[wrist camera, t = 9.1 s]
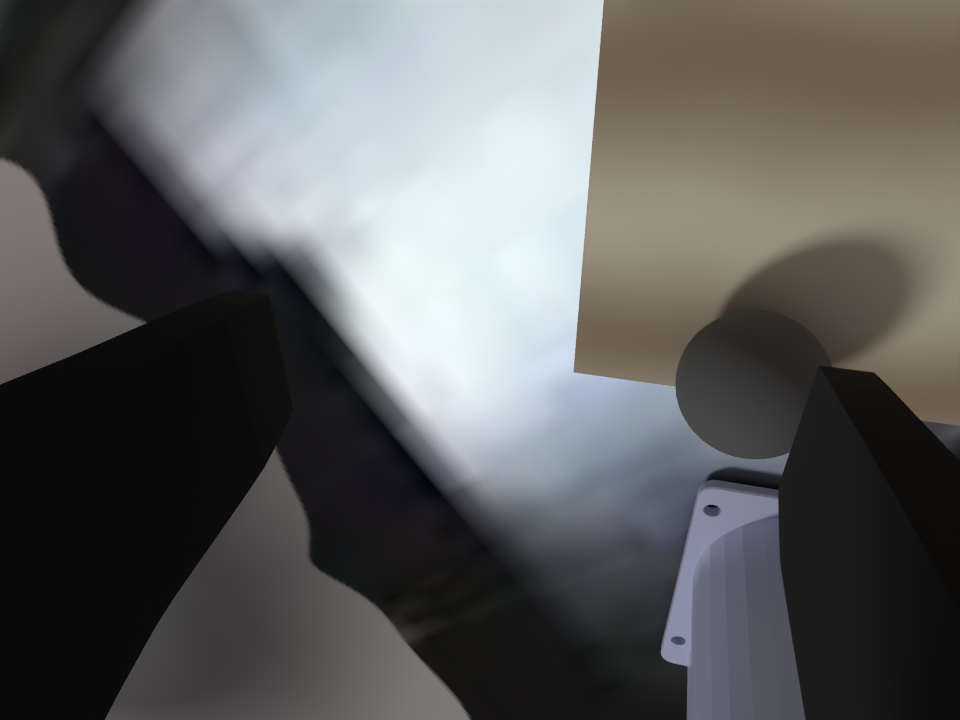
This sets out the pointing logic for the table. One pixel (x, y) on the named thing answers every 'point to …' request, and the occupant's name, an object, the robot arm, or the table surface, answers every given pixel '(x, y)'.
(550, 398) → the table surface
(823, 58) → the maple board
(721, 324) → the black ball
